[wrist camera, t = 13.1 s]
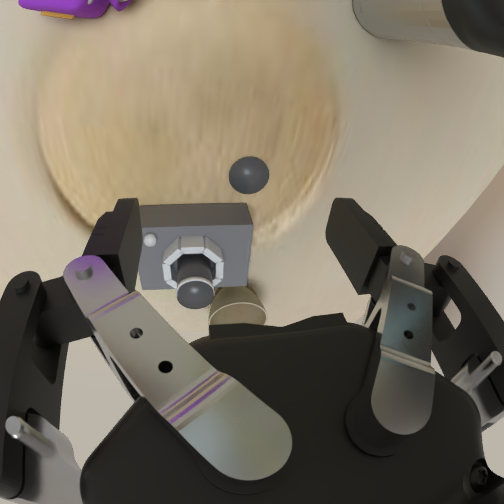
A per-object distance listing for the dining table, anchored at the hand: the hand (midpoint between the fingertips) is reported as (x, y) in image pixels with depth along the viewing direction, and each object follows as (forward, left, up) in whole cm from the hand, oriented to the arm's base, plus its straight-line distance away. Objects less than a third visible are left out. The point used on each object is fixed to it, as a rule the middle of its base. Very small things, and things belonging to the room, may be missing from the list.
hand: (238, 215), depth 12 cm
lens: (+2, +20, -22) cm, 30 cm away
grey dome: (-6, +10, -28) cm, 31 cm away
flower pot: (-5, +33, -28) cm, 44 cm away
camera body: (+2, +20, -28) cm, 35 cm away
